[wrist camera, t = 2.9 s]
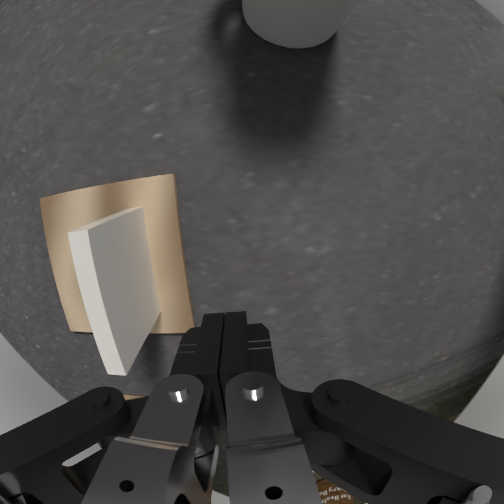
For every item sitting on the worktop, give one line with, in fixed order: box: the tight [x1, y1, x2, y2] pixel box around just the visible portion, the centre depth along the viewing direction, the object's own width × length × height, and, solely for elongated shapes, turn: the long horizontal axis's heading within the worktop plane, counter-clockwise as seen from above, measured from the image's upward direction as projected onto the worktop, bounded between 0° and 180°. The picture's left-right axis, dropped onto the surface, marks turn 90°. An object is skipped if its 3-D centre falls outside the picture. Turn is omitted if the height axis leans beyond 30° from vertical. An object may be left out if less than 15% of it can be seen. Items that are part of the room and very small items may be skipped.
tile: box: [68, 207, 161, 375], centre depth 17 cm, size 1×8×8 cm, turn 4°
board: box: [40, 174, 196, 333], centre depth 21 cm, size 12×12×1 cm
